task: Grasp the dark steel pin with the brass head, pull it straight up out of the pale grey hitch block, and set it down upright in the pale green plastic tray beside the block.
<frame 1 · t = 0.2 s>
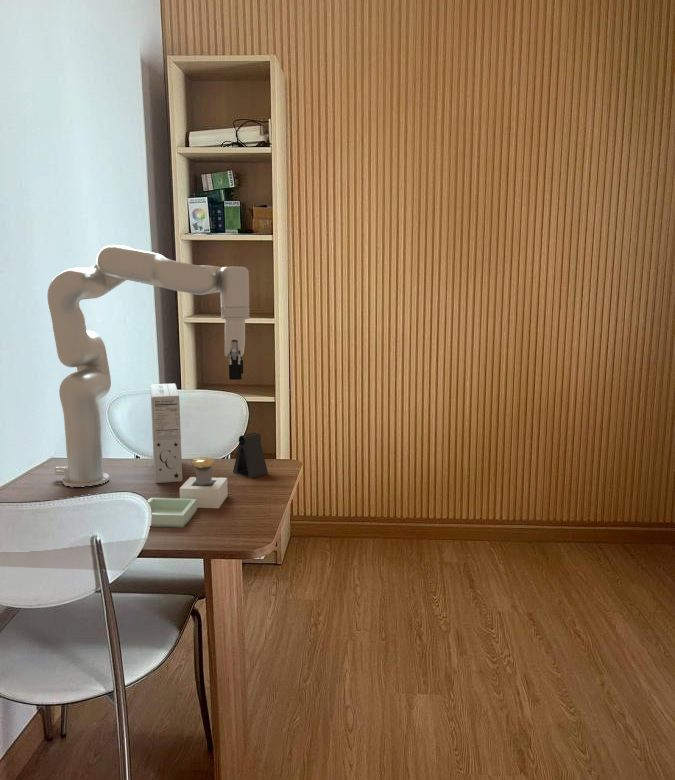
hand: (236, 376, 196), 31 cm above the table, fingers open, 9 cm apart
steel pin: (203, 480, 188), in the hitch block
black a-frame stand: (250, 474, 214), on the table
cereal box: (167, 472, 216), on the table
hitch block: (204, 501, 189), on the table
tray: (166, 517, 177), on the table
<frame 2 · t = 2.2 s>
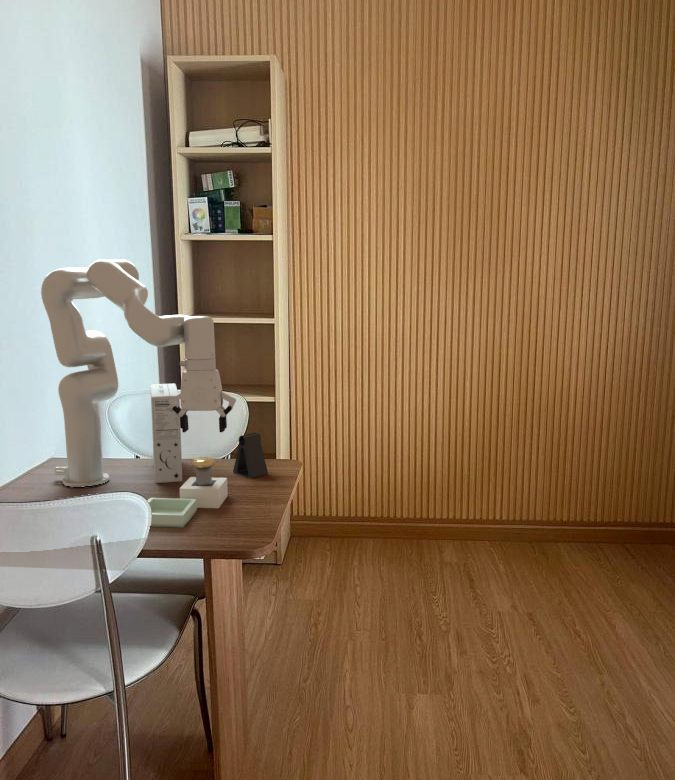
hand: (203, 431, 186), 19 cm above the table, fingers open, 9 cm apart
nothing on the table moved.
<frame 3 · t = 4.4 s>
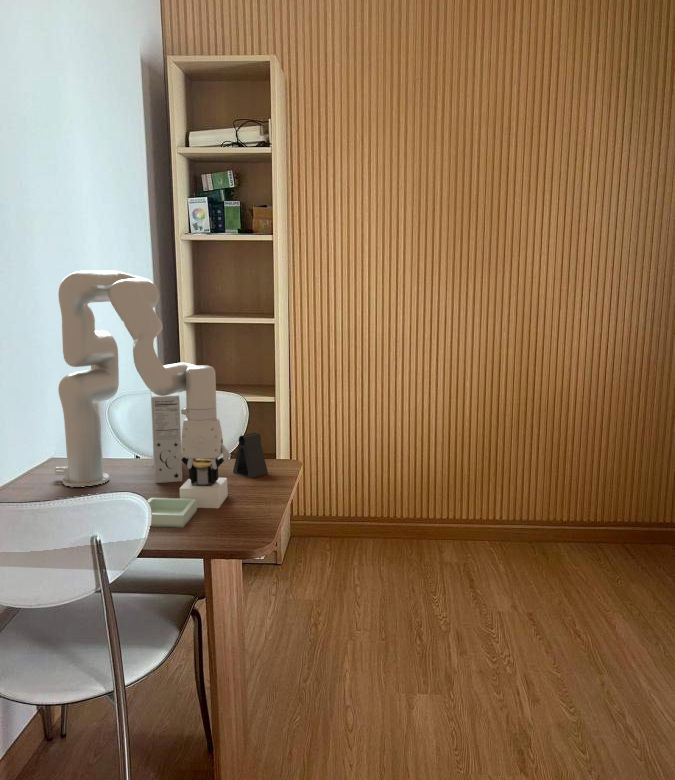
hand: (203, 481, 189), 5 cm above the table, fingers closed on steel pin, 4 cm apart
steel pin: (203, 480, 188), in the hitch block, touching gripper
everything else where it was.
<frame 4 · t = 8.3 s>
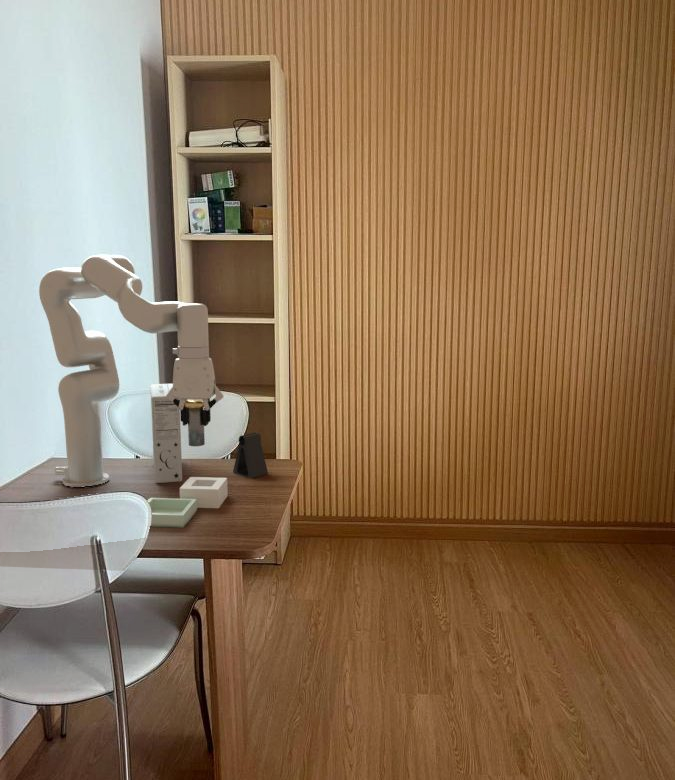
hand: (195, 423, 184), 21 cm above the table, fingers closed on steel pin, 4 cm apart
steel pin: (196, 423, 184), point 22 cm above the table, touching gripper
everything else where it was.
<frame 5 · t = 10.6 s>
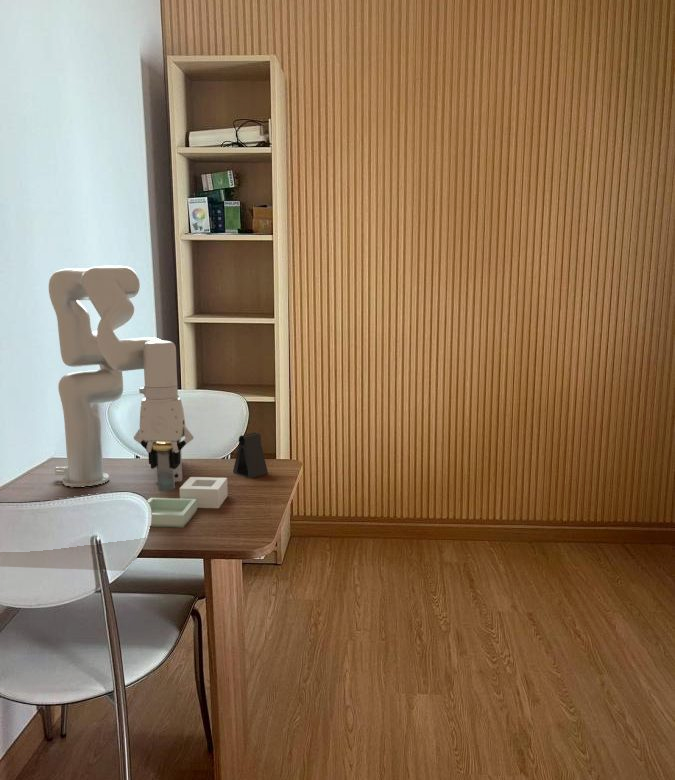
hand: (164, 466, 175), 13 cm above the table, fingers closed on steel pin, 4 cm apart
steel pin: (165, 465, 175), point 13 cm above the table, touching gripper
everything else where it was.
when the fingers open (7 cm above the table, at t = 12.5 s): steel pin drops 1 cm, resting on tray.
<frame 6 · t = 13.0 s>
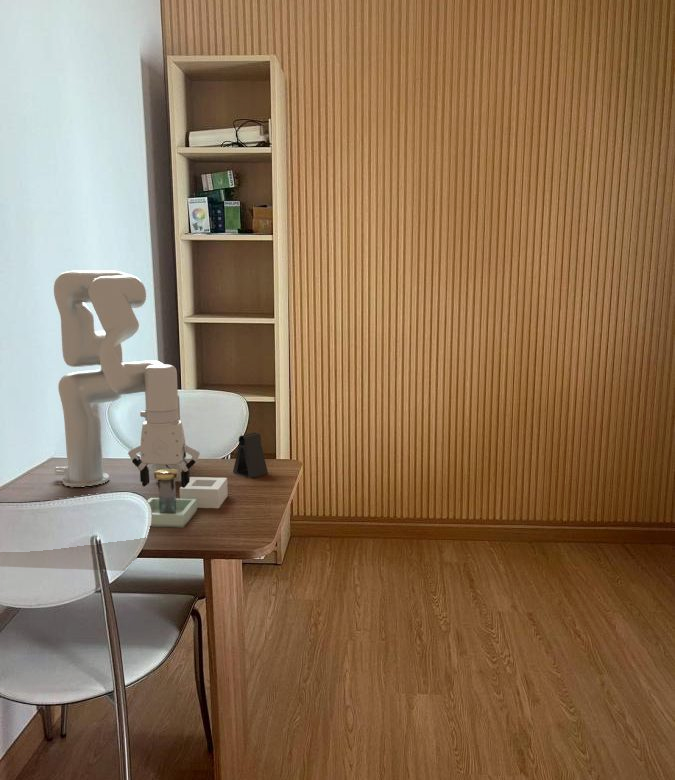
hand: (165, 485, 176), 8 cm above the table, fingers open, 9 cm apart
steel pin: (167, 494, 176), in the tray
everything else where it was.
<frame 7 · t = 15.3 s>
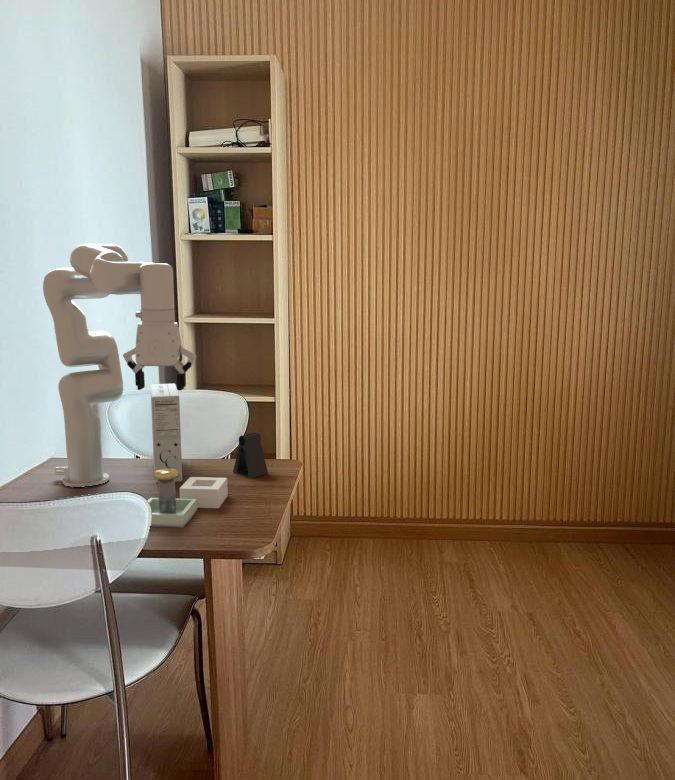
hand: (161, 389, 172), 32 cm above the table, fingers open, 9 cm apart
nothing on the table moved.
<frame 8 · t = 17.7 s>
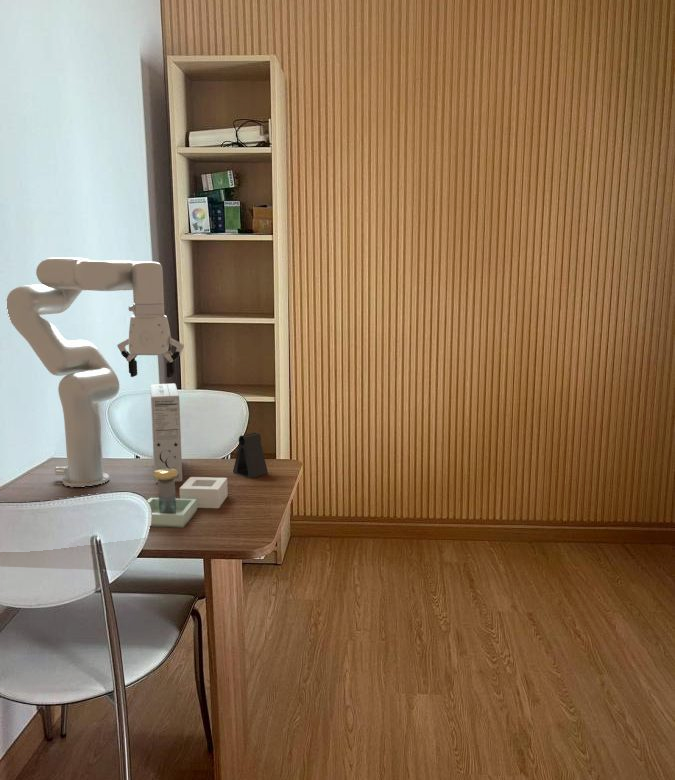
hand: (152, 376, 189), 32 cm above the table, fingers open, 9 cm apart
nothing on the table moved.
at the end: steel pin inside the target area on the tray (0.4 cm from its centre), point 6.1 cm above the tray's base; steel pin touching tray; the gripper is holding nothing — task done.
